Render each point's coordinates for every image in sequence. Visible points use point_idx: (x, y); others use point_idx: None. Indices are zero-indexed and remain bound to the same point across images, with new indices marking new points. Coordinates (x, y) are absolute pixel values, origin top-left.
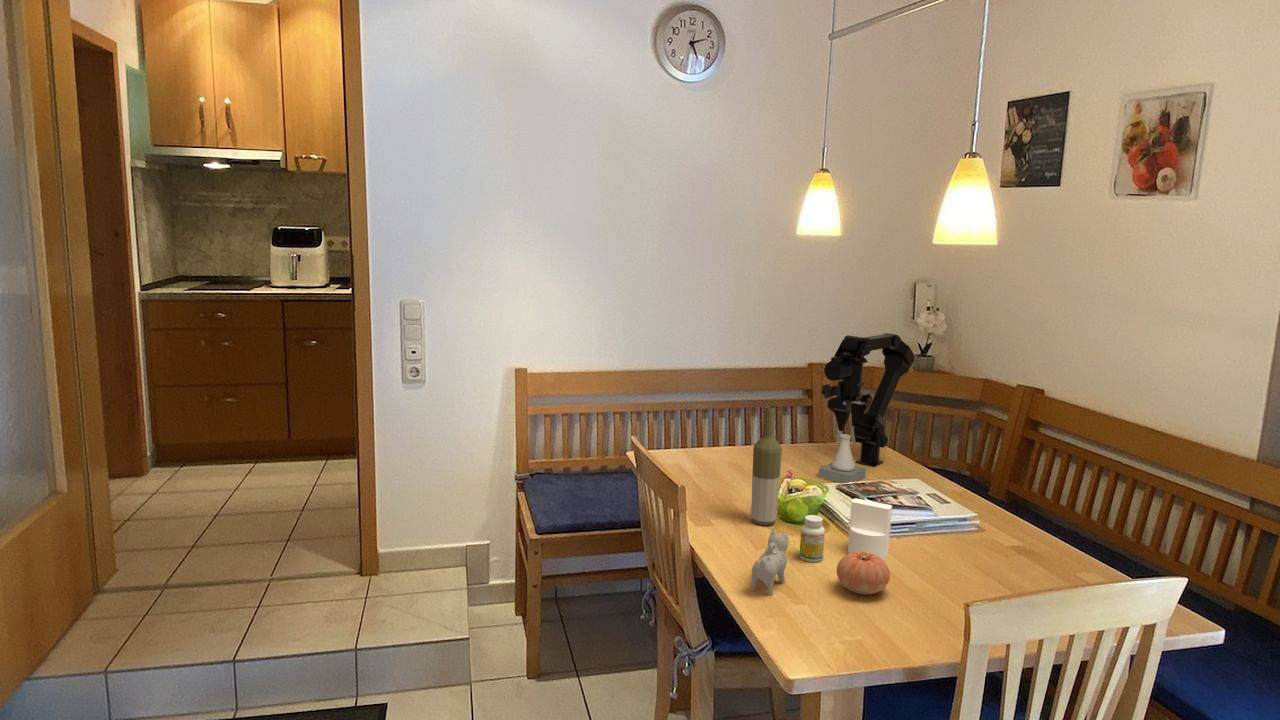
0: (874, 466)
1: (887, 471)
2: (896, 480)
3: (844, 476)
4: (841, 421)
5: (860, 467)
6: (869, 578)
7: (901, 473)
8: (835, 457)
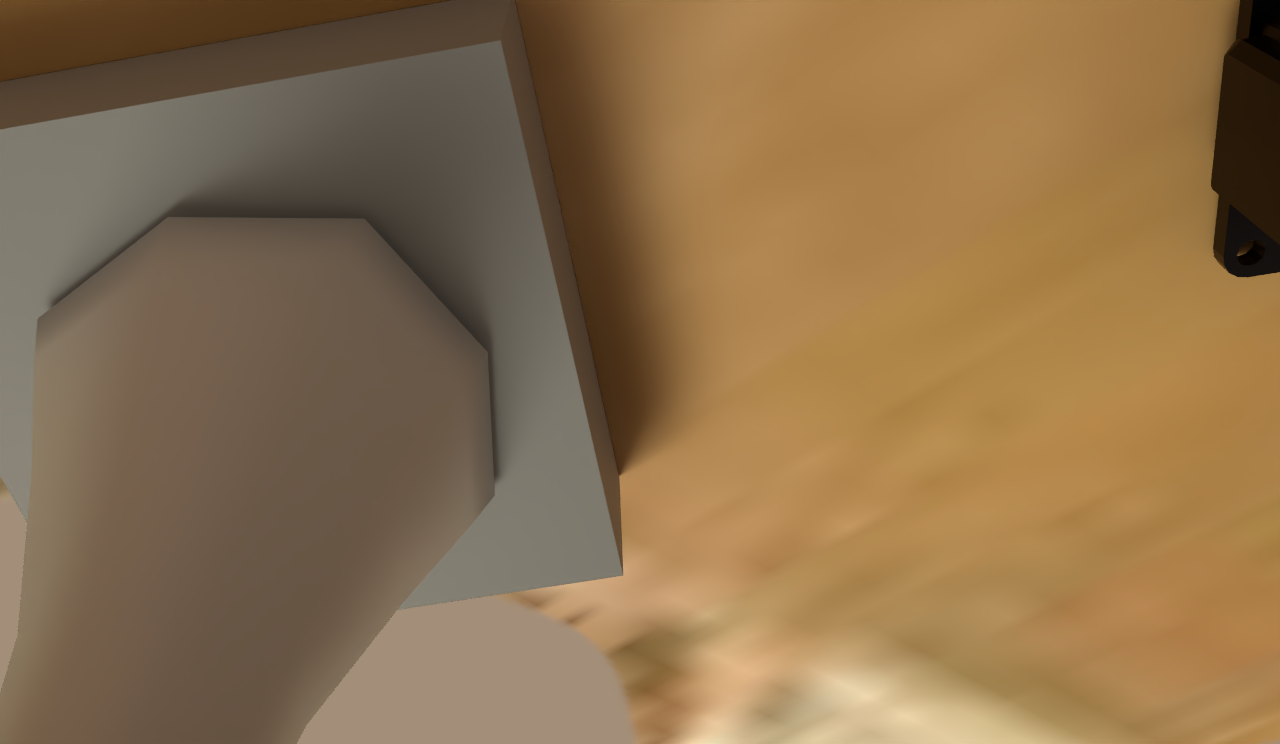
0: (1225, 264)
1: (1143, 470)
2: (863, 700)
3: None
4: None
5: (581, 517)
6: None
7: (1186, 598)
8: (60, 435)
